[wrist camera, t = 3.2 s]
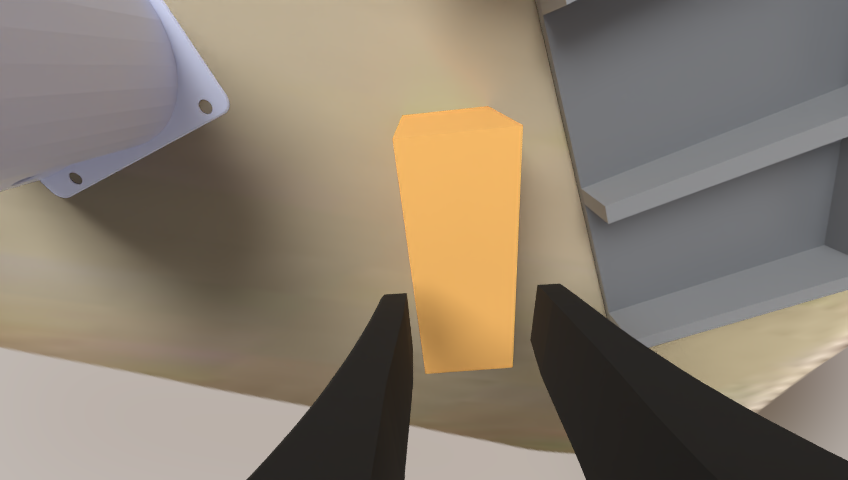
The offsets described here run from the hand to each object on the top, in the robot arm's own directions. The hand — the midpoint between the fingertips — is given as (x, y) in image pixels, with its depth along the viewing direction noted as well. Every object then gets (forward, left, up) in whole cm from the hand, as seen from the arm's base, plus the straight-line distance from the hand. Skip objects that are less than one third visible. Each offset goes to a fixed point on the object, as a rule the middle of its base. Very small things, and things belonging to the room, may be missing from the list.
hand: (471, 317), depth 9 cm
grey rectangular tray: (+11, -1, -7) cm, 13 cm away
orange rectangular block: (0, 0, -7) cm, 7 cm away
